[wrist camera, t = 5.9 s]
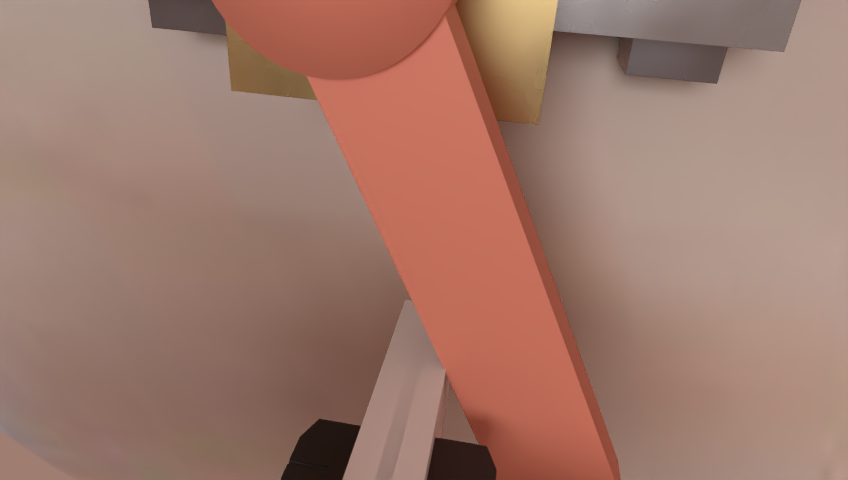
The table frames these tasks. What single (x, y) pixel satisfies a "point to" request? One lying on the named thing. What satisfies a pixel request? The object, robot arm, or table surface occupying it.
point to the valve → (541, 41)
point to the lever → (447, 217)
